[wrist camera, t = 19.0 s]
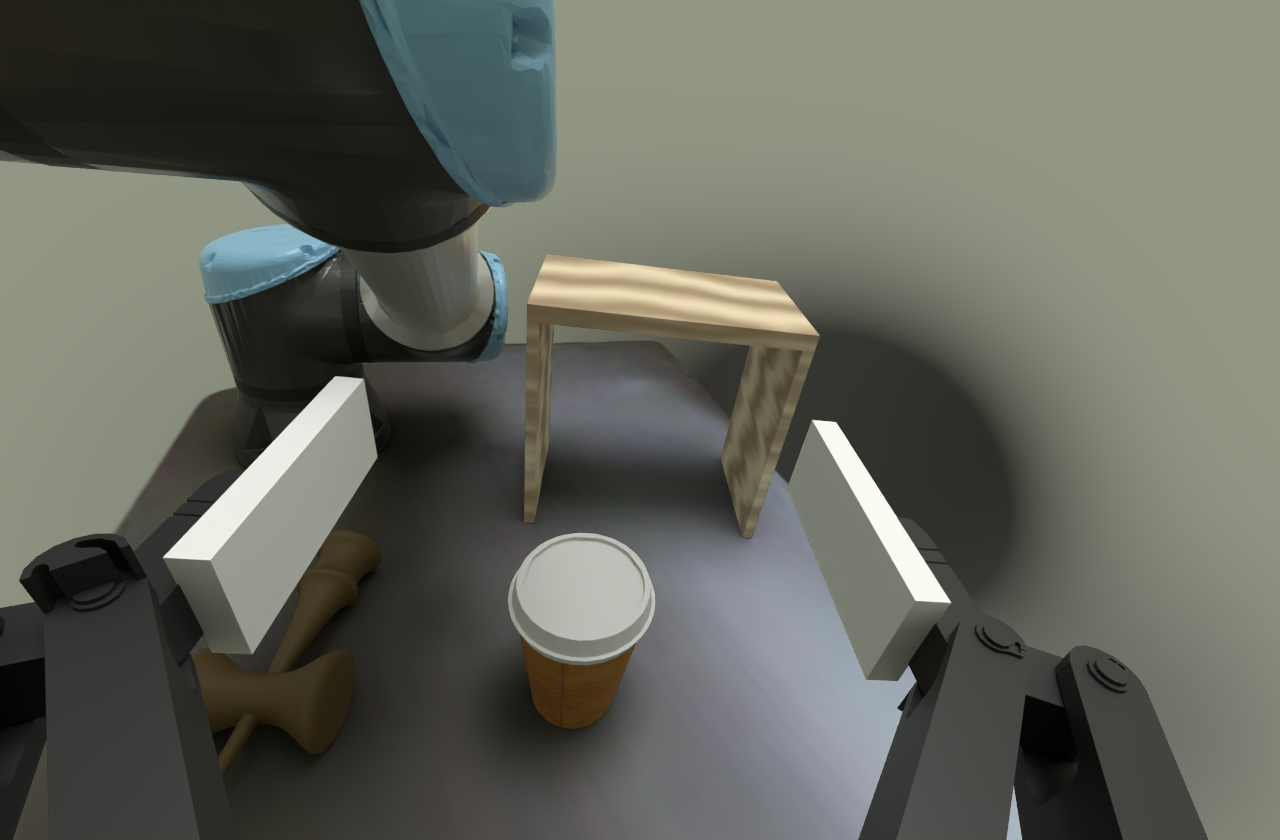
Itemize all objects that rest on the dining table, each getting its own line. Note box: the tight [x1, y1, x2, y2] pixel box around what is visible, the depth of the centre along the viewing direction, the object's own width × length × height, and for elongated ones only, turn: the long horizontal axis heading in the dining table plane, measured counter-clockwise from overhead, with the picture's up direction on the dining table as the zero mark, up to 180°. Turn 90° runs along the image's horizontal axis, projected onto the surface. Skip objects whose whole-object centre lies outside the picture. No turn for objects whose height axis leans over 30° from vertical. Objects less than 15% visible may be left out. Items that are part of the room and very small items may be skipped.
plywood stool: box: [524, 254, 820, 538], centre depth 55 cm, size 14×24×24 cm, turn 92°
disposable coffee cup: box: [508, 533, 655, 729], centre depth 37 cm, size 10×10×12 cm
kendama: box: [191, 529, 381, 778], centre depth 37 cm, size 6×10×20 cm
